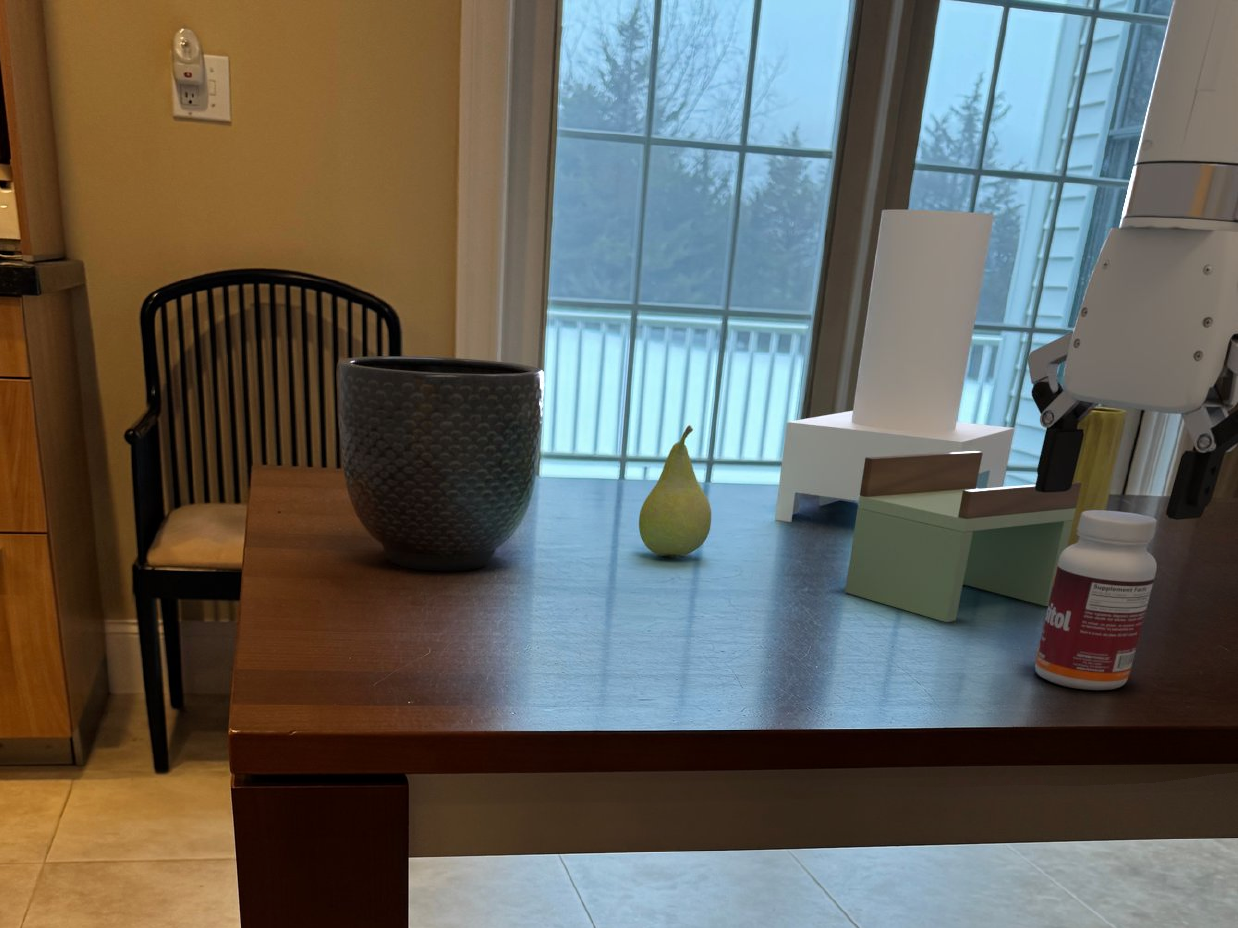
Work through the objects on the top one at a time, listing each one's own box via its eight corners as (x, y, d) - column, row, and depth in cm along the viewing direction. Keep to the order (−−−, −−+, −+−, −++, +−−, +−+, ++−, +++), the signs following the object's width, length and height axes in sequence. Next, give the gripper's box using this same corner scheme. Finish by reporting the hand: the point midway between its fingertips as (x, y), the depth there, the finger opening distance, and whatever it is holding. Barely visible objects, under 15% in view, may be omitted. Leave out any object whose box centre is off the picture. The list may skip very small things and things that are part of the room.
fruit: (700, 550, 124) (714, 417, 118) (715, 567, 117) (730, 427, 111) (631, 548, 123) (641, 413, 118) (642, 565, 116) (654, 423, 111)
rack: (1054, 605, 110) (1085, 469, 105) (946, 622, 103) (973, 478, 98) (951, 577, 118) (975, 450, 113) (844, 592, 110) (865, 457, 105)
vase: (1025, 568, 123) (1060, 408, 117) (1030, 556, 128) (1063, 403, 122) (1093, 576, 121) (1132, 414, 115) (1095, 564, 126) (1132, 408, 120)
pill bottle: (1025, 663, 93) (1060, 504, 88) (1114, 670, 92) (1155, 511, 87) (1041, 688, 87) (1080, 520, 82) (1136, 696, 87) (1181, 527, 82)
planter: (328, 578, 106) (322, 367, 99) (353, 537, 121) (349, 352, 114) (537, 587, 107) (546, 378, 99) (535, 545, 122) (543, 362, 115)
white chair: (774, 519, 141) (813, 205, 127) (839, 499, 155) (881, 214, 141) (943, 545, 132) (1005, 210, 118) (995, 521, 146) (1056, 220, 132)
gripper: (1372, 212, 72) (1273, 526, 80) (1102, 208, 85) (1039, 480, 92) (1304, 201, 68) (1207, 532, 76) (1031, 198, 81) (971, 484, 88)
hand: (1115, 503), depth 84 cm, fingers open, 9 cm apart
